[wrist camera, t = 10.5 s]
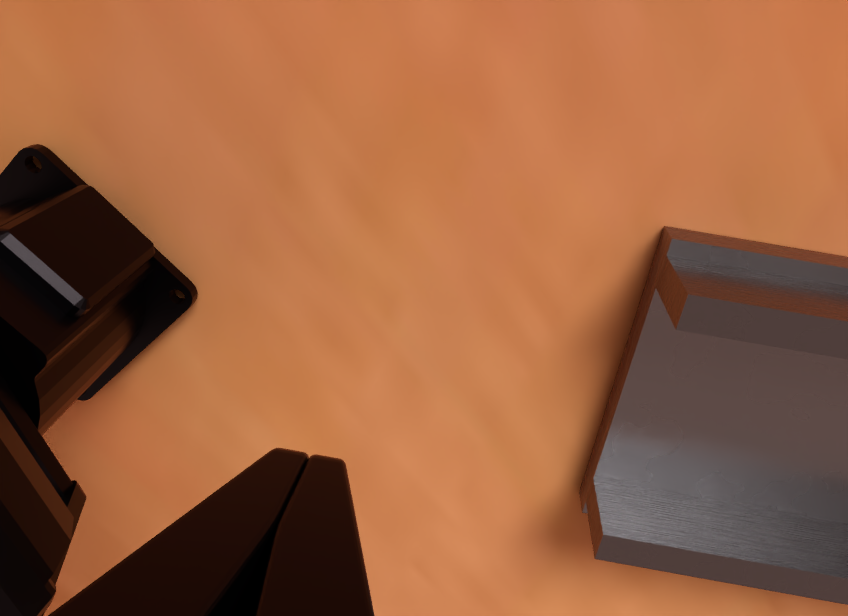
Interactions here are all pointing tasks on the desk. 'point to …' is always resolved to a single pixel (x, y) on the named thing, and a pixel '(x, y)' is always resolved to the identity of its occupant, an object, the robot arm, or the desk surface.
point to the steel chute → (730, 421)
